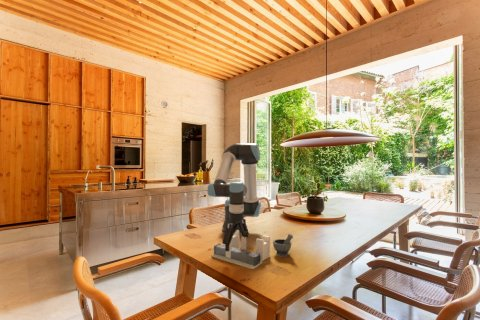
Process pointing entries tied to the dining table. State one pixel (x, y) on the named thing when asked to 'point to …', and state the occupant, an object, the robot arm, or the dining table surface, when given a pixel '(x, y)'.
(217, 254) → the mat
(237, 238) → the beige bridge block
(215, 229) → the dining table surface
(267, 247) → the beige u-shaped block
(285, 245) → the mortar and pestle
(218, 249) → the rail
